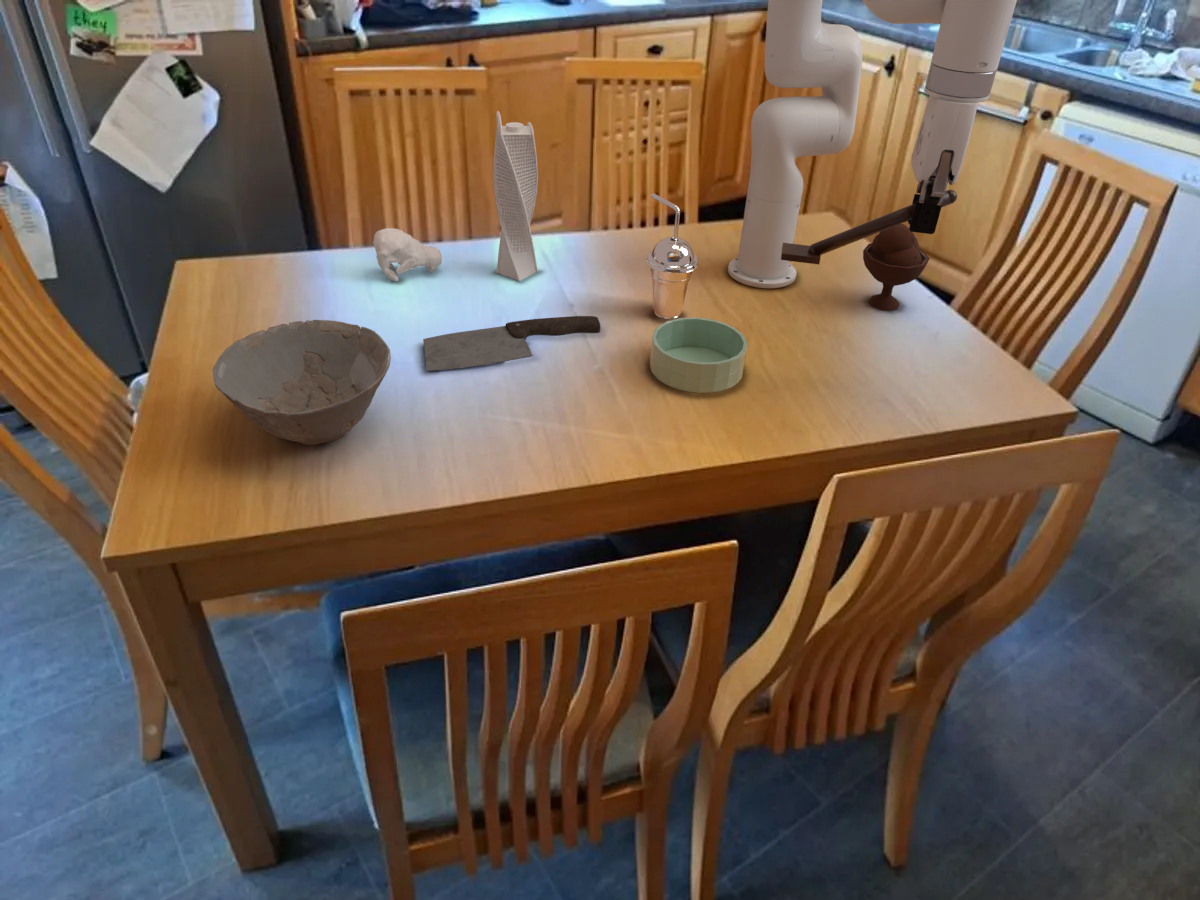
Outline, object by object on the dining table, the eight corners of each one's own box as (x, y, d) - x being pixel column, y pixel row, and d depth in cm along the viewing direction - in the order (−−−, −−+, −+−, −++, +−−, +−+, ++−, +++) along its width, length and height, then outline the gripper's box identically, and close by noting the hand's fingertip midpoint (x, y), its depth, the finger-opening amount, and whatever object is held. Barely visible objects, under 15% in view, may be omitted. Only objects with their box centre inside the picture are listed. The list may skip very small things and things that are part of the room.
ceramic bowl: (238, 492, 109) (220, 425, 103) (221, 396, 125) (206, 333, 120) (416, 455, 116) (410, 391, 110) (378, 369, 133) (371, 309, 127)
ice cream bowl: (918, 321, 153) (941, 239, 144) (852, 313, 154) (871, 231, 145) (913, 294, 161) (935, 215, 152) (851, 287, 163) (869, 208, 154)
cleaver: (591, 319, 148) (592, 307, 147) (612, 347, 141) (613, 335, 140) (415, 345, 139) (414, 333, 138) (428, 377, 132) (427, 364, 131)
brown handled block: (780, 260, 121) (794, 178, 115) (781, 249, 124) (795, 168, 118) (936, 278, 119) (960, 195, 112) (934, 267, 122) (957, 185, 115)
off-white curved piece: (370, 223, 155) (439, 222, 159) (371, 268, 160) (437, 267, 164) (376, 237, 150) (446, 236, 155) (376, 283, 155) (444, 281, 159)
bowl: (657, 342, 143) (659, 312, 140) (745, 354, 141) (750, 324, 138) (642, 388, 132) (645, 356, 129) (738, 402, 130) (743, 370, 127)
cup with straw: (656, 331, 146) (666, 214, 134) (632, 307, 153) (640, 193, 141) (701, 323, 149) (715, 208, 137) (675, 299, 156) (687, 188, 144)
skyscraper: (486, 272, 161) (480, 114, 145) (512, 259, 166) (509, 105, 150) (520, 285, 158) (518, 124, 141) (545, 271, 163) (546, 114, 146)
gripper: (921, 64, 113) (888, 204, 124) (933, 95, 100) (894, 248, 111) (982, 69, 112) (943, 210, 123) (1002, 102, 99) (956, 255, 110)
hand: (920, 227), depth 117 cm, fingers closed on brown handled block
